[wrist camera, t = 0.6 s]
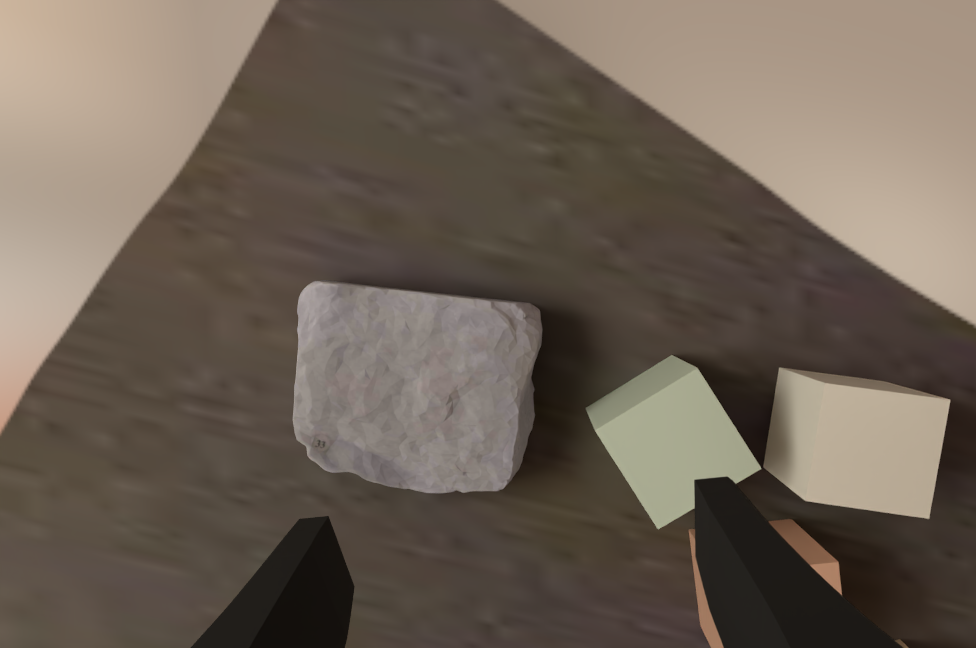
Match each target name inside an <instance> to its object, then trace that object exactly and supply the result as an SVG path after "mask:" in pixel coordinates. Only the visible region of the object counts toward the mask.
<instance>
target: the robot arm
mask: <svg viewBox="0 0 976 648" xmlns="http://www.w3.org/2000/svg"><path fill="white" fill-rule="evenodd" d="M694 496H695V557H696V561H697V565H698V569H699V573H700V577H701V580H702V584H703V588H704V592H705V595H706V599H707V603H708V607H709V610H710V613H711V615H712V618H713V621H714V623H715V626H716V629H717V631H718V634H719V637H720V639H721V642H722V644H723V647H724V648H903V647H902V646H901V645H900V644H898V643H897V642H896V641H895V640H893V639H892V638H891V637H890V636H888V635H887V634H886V633H885V632H883V631H882V630H881V629H880V628H879V627H877V626H876V625H875V624H874V623H873V622H871V621H870V620H869V619H868V618H867V617H866V616H864V615H863V614H862V613H861V612H860V611H859V610H858V609H856V608H855V607H854V606H853V605H852V604H851V603H850V602H849V601H848V600H846V599H845V598H844V597H843V596H842V595H841V594H840V593H839V592H838V591H837V590H836V589H834V588H833V587H832V586H831V585H830V584H829V583H828V582H827V581H826V580H825V579H824V578H823V577H822V576H821V575H820V574H819V573H817V572H816V571H815V570H814V569H813V568H812V567H811V566H810V565H809V564H808V563H807V562H806V561H805V560H804V559H803V558H802V557H801V556H800V555H799V554H798V553H797V552H796V550H795V549H794V548H793V547H792V546H791V545H790V544H789V543H788V542H787V541H786V540H785V539H784V538H783V537H782V536H781V535H780V534H779V533H778V532H777V531H776V530H775V529H774V527H773V526H772V525H771V524H770V523H769V522H768V521H767V520H766V519H765V518H764V516H763V515H762V514H761V513H760V512H759V511H758V510H757V509H756V507H755V506H754V505H753V504H752V503H751V502H750V500H749V499H748V498H747V497H746V496H745V495H744V493H743V492H742V491H741V490H740V489H739V487H738V486H737V485H736V484H735V482H734V481H733V480H731V479H730V478H729V477H727V476H726V477H716V478H706V479H696V480H694ZM353 593H354V584H353V582H352V579H351V576H350V573H349V571H348V568H347V565H346V563H345V560H344V557H343V554H342V552H341V549H340V546H339V544H338V541H337V538H336V535H335V533H334V530H333V527H332V525H331V522H330V519H329V516H325V517H315V518H305V519H299V520H298V521H297V523H296V524H295V525H294V526H293V527H292V529H291V530H290V531H289V532H288V534H287V535H286V536H285V537H284V538H283V540H282V541H281V542H280V543H279V545H278V546H277V547H276V548H275V550H274V551H273V552H272V553H271V555H270V556H269V557H268V558H267V559H266V561H265V562H264V563H263V564H262V566H261V567H260V568H259V569H258V571H257V572H256V573H255V574H254V576H253V577H252V578H251V579H250V580H249V582H248V583H247V584H246V585H245V586H244V588H243V589H242V590H241V591H240V592H239V594H238V595H237V596H236V597H235V598H234V600H233V601H232V602H231V603H230V604H229V606H228V607H227V608H226V609H225V610H224V611H223V613H222V614H221V615H220V616H219V617H218V618H217V619H216V620H215V621H214V623H213V624H212V625H211V626H210V627H209V628H208V629H207V630H206V631H205V633H204V634H203V635H202V636H201V637H200V638H199V639H198V640H197V641H196V643H195V644H194V645H193V646H192V647H191V648H345V644H346V640H347V635H348V629H349V622H350V616H351V609H352V601H353Z"/></svg>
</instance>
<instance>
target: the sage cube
mask: <svg viewBox="0 0 976 648" xmlns="http://www.w3.org/2000/svg"><path fill="white" fill-rule="evenodd" d="M586 411H587V413H588V416H589V418H590V420H591V423H592V425H593V427H594V430H595V432H596V433H597V435H598V436H599V438H600V439H601V441H602V443H603V444H604V446H605V447H606V449H607V450H608V452H609V453H610V455H611V457H612V458H613V460H614V461H615V463H616V464H617V466H618V468H619V469H620V471H621V472H622V474H623V475H624V477H625V478H626V480H627V482H628V483H629V485H630V486H631V488H632V489H633V491H634V493H635V494H636V496H637V497H638V499H639V500H640V502H641V503H642V505H643V507H644V508H645V510H646V511H647V513H648V514H649V516H650V518H651V519H652V521H653V522H654V524H655V525H656V527H657V528H658V529H660V528H661V527H663V526H665V525H666V524H668V523H670V522H672V521H673V520H675V519H677V518H678V517H680V516H682V515H683V514H685V513H687V512H689V511H690V510H692V509H694V508H695V496H694V480H696V479H706V478H716V477H726V476H727V477H729V478H730V479H731V480H733V481H734V482H735V484H736V483H738V482H740V481H741V480H743V479H745V478H747V477H748V476H750V475H752V474H753V473H755V472H757V471H758V470H760V469H761V467H760V465H759V464H758V462H757V461H756V459H755V458H754V456H753V454H752V453H751V451H750V450H749V448H748V447H747V445H746V443H745V442H744V440H743V439H742V437H741V436H740V434H739V432H738V431H737V429H736V428H735V426H734V425H733V423H732V421H731V420H730V418H729V417H728V415H727V414H726V412H725V410H724V409H723V407H722V406H721V404H720V403H719V401H718V399H717V398H716V396H715V395H714V393H713V392H712V390H711V388H710V387H709V385H708V384H707V382H706V381H705V379H704V377H703V376H702V374H701V373H700V371H699V370H698V368H697V367H695V366H693V365H691V364H689V363H687V362H685V361H683V360H681V359H679V358H677V357H675V356H673V355H671V356H670V357H668V358H666V359H665V360H663V361H661V362H660V363H658V364H656V365H655V366H653V367H652V368H650V369H648V370H647V371H645V372H643V373H642V374H640V375H639V376H637V377H635V378H634V379H632V380H630V381H629V382H627V383H626V384H624V385H622V386H621V387H619V388H617V389H616V390H614V391H613V392H611V393H609V394H608V395H606V396H604V397H603V398H601V399H599V400H598V401H596V402H595V403H593V404H591V405H590V406H588V407H586Z"/></svg>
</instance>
